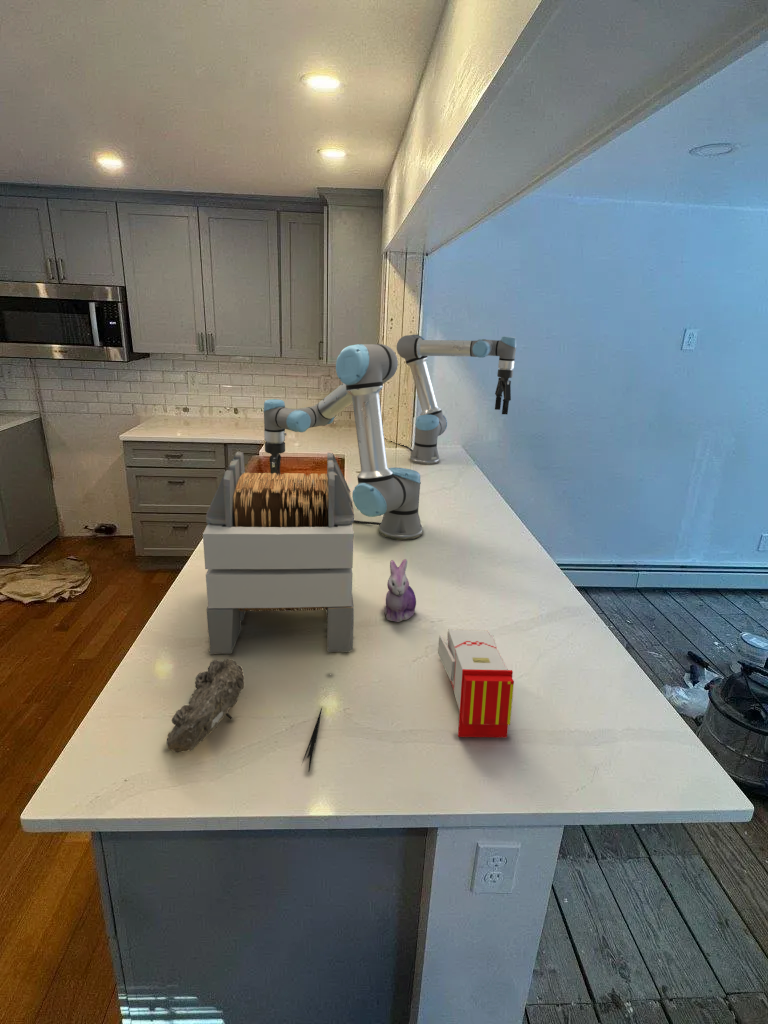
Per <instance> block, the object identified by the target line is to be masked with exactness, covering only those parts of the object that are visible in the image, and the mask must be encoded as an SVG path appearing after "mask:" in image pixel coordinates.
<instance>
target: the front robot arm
mask: <svg viewBox="0 0 768 1024" xmlns="http://www.w3.org/2000/svg"><path fill="white" fill-rule="evenodd" d="M398 366H399V361H398V357H397V354H396V352H395V351H394V350H393V348H391V347H390V346H389V345H386V344H382V343H361V344H360V343H358V344H351V345H348V346H345V347H344V348H343V349H342V350H341V351H340V353H339V354H338V356H337V358H336V362H335V372H336V376H337V378H338V379H339V380H340V382H341V384H340V385H339V386H337V387H336V388H334V389H333V390H332V391H331V392H330V393H328V394H327V395H326V396H325V397H323V399H321V400H320V401H318V403H316V404H315V405H313V406H306V407H299V408H288V407H286V404H285V401H284V400H283V399H277V398H276V399H265V400H264V403H263V411H262V412H263V429H264V430H263V435H264V436H263V437H264V441H265V442H264V452H265V453H266V454H270V455H269V471H270V472H269V473H271V474H272V473H277V475H278V474H279V475H280V474H281V465H282V464H281V459H282V456H281V454H284V453H285V452H286V442H285V440H286V436H287V435H288V434H287V432H286V430H288V431H291V432H294V433H305V432H307V430H309V429H311V428H318V427H325V426H327V425H330V424H332V423H333V422H334V420H335V418H336V416H337V415H339V414H340V413H341V412H342V411H344V410H346V409H347V408H348V407H349V406H351V405H352V409H353V416H354V424H355V431H356V439H357V448H358V456H359V464H360V472H359V473H358V474H357V476H356V477H357V484H356V485H355V486H354V488H353V490H352V495H351V498H352V503H353V505H354V507H355V508H356V510H358V511H359V512H360V514H362V515H363V516H365V517H368V518H375V517H381V516H382V519H381V522H378V521H377V522H376V521H365V520H357V519H354V522H353V523H352V524H361V525H372V526H378V533H379V534H380V535H381V536H382V537H385V538H387V539H389V540H395V541H410V540H415V539H418V538H420V537H421V536H422V535H423V525H422V524H421V518H420V515H419V507H420V506H419V505H420V494H421V493H420V492H421V482H422V481H421V474H420V472H418V471H417V470H414V469H411V468H406V467H388V459H387V452H386V443H385V434H384V426H383V417H382V408H381V400H380V391H381V390H382V389H383V388H384V384H385V383H387V382H388V381H389V380H391V379H392V378H393V377H394V376H395V375H396V372H397V370H398Z"/></svg>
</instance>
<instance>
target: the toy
mask: <svg viewBox="0 0 768 1024" xmlns="http://www.w3.org/2000/svg"><path fill="white" fill-rule="evenodd" d="M446 640H447V643H446V641H445V639H444V636H443V635H442V634H439V637H438V646H437V656H438V657H439V659H440V661H441V663H442V666H443V668H444V670H445V672H446V674H447V677H448V679H449V681H450V684H451V687H452V690H453V693H454V697H455V701H456V705H457V708H458V711H459V714H458V715H459V716H458V730H457V731H458V732H457V737H458V738H508V731H509V726H510V725H511V717H512V707H513V697H514V696H513V695H514V684H515V680H514V679H513V673H514V671H513V670H512V669H508V667H507V665H506V662H505V661H504V659H503V658H502V655H501V653H500V651H499V649H498V647H497V643H496V639H495V637H494V635H493V634H491V632H490V631H489V629H467V628H466V629H465V628H463V629H461V628H460V629H459V628H448V630H447V639H446Z"/></svg>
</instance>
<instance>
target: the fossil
mask: <svg viewBox="0 0 768 1024" xmlns="http://www.w3.org/2000/svg"><path fill="white" fill-rule="evenodd" d="M243 670H244V669H243V667H242V665H240V664H237V662H236V661H235V660H234V659H232V658H231V659H227V658H226V659H224V660H223V661H222V660H217V659H212V660H211V661H210V663H209V665H208V666H207V671H201V672H199V673H198V674H197V675H196V676H195V680H194V684H195V685H194V687H195V689H194V690H193V693H192V694H191V697H190V698H189V700H188V704H184V705H182V706H181V707H180V709H177V710H176V711H175V713H174V715H173V716H172V718H171V723H172V724H173V727H172V730H171V731H170V732H168V734H167V738H166V741H167V742H166V745H167V749H168V750H169V751H173V752H174V753H176V754H178V753H182V752H188V751H189V752H192V751H193V750H195V748H196V747H197V746H199V744H200V743H201V742H203V741H204V740H205V739H206V738H207V737H208V736H209V735H210V734H211V733H212V732H214V730H215V729H217V727H218V726H219V724H220V722H221V721H222V720H223V719H224V718H225V716H226V717H227V719H229V720H233V717H232V715H230V714H229V710H230V709H231V708H234V706H235V704H236V703H237V702H238V699H239V697H240V695H241V693H242V691H243V690H245V689H244V688H245V675H244V671H243Z"/></svg>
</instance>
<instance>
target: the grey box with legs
mask: <svg viewBox="0 0 768 1024" xmlns="http://www.w3.org/2000/svg"><path fill="white" fill-rule="evenodd" d="M244 455H245V454H244V451H242V452H241V451H236V452H235V454H234V456H233V458H232V459H230V463H229V465H228V467H227V469H226V470H224V473H223V475H222V478H221V479H220V482H219V484H218V487H217V489H216V491H215V494H214V495H213V497H212V500H211V502H210V505H209V507H208V509H207V511H206V515H205V523H206V524H207V525H206V527H205V529H204V531H203V533H202V543H203V558H204V569H205V570H206V573H205V584H206V587H205V588H206V598H207V599H206V601H207V607H206V623H207V634H208V641H209V642H208V643H209V650H208V653H209V655H216V654H217V655H218V654H221V655H222V654H223V655H226V654H227V655H228V654H230V655H231V654H232V653H233V650H234V648H235V647H236V643H237V641H238V638H239V636H240V634H241V630H242V626H241V625H242V623H241V622H243V621H244V618H245V615H246V612H272V611H273V612H279V611H280V612H284V611H286V612H288V611H289V612H291V611H292V612H293V611H294V612H295V611H303V612H304V611H322V610H323V611H326V636H327V637H326V641H327V645H326V646H327V652H329V653H330V652H332V653H333V652H343V653H349V652H351V651H352V650H354V617H355V616H354V614H355V607H354V598H353V575H354V573H353V566H354V563H353V562H354V537H355V536H354V535H355V532H354V527H353V524H354V523H353V522H354V520H355V511H354V506H353V505H354V504H353V498H352V495H351V489H350V487H349V485H348V483H347V480H346V479H345V476H344V474H343V472H342V470H341V467H340V465H339V463H338V461H337V459H336V457H335V455H334V453H333V452H327V453H326V456H327V457H326V468H327V469H326V473H320V474H318V473H307V474H306V473H303V472H302V473H299V472H298V473H297V472H294V473H293V472H292V473H291V472H290V473H288V472H283V473H280V475H279V474H278V475H277V473H272V474H271V473H270V472H263V473H262V472H259V473H258V472H253V473H252V472H245V468H246V467H245V456H244Z"/></svg>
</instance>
